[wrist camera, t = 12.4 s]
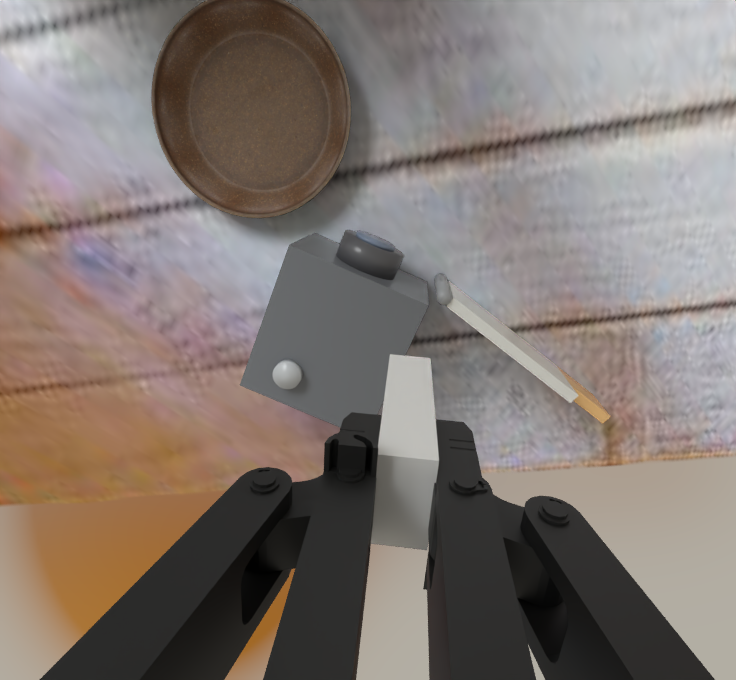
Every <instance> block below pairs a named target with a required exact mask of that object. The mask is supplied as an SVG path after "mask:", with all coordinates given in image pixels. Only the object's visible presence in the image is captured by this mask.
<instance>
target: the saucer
mask: <svg viewBox="0 0 736 680" xmlns="http://www.w3.org/2000/svg"><path fill="white" fill-rule="evenodd" d="M151 101H152V113H153V119H154V124H155V129H156V133H157V136H158V139H159V142H160V145H161V147H162V150H163V152H164V154H165V156H166V158H167V160H168V162H169V163H170V165H171V167H172V168H173V170H174V171H175V173H176V174H177V175H178V177H179V178H180V179H181V180H182V182H183V183H184V184H185V185H186V186H187V187H188V188H189V189H190V190H191V191H192V192H193V193H194V194H196V195H197V196H198V197H199V198H201V199H202V200H203V201H205V202H207V203H208V204H210V205H211V206H213V207H215V208H217V209H219V210H221V211H224V212H227V213H229V214H233V215H236V216H241V217H247V218H266V217H267V218H268V217H275V216H278V215H283V214H286V213H288V212H291V211H293V210H295V209H297V208H299V207H301V206H302V205H304V204H305V203H307V202H308V201H310V200H311V199H312V198H314V197H315V196H316V195H317V194H318V193H319V192H320V191H321V190H322V189H323V188H324V187H325V186H326V185H327V183H328V182H329V180H330V179H331V178H332V176H333V175H334V173H335V172H336V170H337V168H338V166H339V164H340V162H341V160H342V158H343V155H344V152H345V149H346V146H347V142H348V137H349V131H350V122H351V101H350V93H349V87H348V82H347V78H346V74H345V71H344V68H343V65H342V63H341V61H340V58H339V56H338V54H337V52H336V50H335V48H334V46H333V45H332V43H331V42H330V40H329V39H328V37H327V36H326V35H325V33H324V32H323V31H322V30H321V28H320V27H319V26H318V25H317V24H316V23H315V22H314V21H313V20H312V19H311V18H310V17H309V16H308V15H307V14H305V13H304V12H303V11H302V10H300V9H299V8H297V7H295V6H294V5H292V4H290V3H288V2H287V1H285V0H207V1H205V2H203V3H201V4H199V5H198V6H196V7H195V8H193V9H192V10H191V11H189V12H188V13H187V14H186V15H185V16H184V17H183V18H182V19H180V20H179V22H178V23H177V24H176V25H175V26H174V28H173V29H172V30H171V32H170V33H169V35H168V37H167V38H166V40H165V42H164V44H163V46H162V48H161V51H160V53H159V56H158V59H157V62H156V66H155V70H154V75H153V81H152V95H151Z"/></svg>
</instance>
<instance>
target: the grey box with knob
mask: <svg viewBox="0 0 736 680" xmlns="http://www.w3.org/2000/svg"><path fill="white" fill-rule="evenodd" d="M403 258H404V254H403V253H402V252H400V251H399V250H397V249H396V247H395V246H394V245H393V244H391V243H389V242H388V241H386V240H384V239H382V238H379V237H377V236H375V235H372V234H369V233H367V232H363V231H357V232H355V231H351V230H345V232H344V235H343V237H342V240H341V243H340V244H339V243H337V242H334V241H332V240H330V239H328V238H325V237H323V236H321V235H318V234H316V233H313V234H311V235H309V236H307V237H305V238H303V239H301V240H299V241H297V242H294V243H292V244H290V245H289V247H288V250H287V253H286V256H285V258H284V261H283V264H282V267H281V270H280V273H279V275H278V278H277V281H276V284H275V287H274V290H273V292H272V295H271V298H270V301H269V304H268V307H267V309H266V312H265V315H264V318H263V321H262V324H261V327H260V329H259V332H258V335H257V338H256V341H255V344H254V346H253V349H252V352H251V355H250V358H249V361H248V363H247V366H246V369H245V372H244V375H243V378H242V380H241V383H240V386H243V387H245V388H247V389H250V390H252V391H255V392H257V393H259V394H262V395H264V396H266V397H269V398H271V399H274V400H276V401H278V402H281V403H283V404H285V405H288V406H290V407H293V408H295V409H297V410H300V411H302V412H305V413H307V414H309V415H312V416H314V417H316V418H319V419H321V420H324V421H326V422H328V423H331V424H333V425H335V426H338V427H340V428H341V425H342V421H343V419H344V418H345V417H347V416H348V415H349V414H350V413H351V412H355V413H365V414H375V415H377V414H378V412H379V409H380V407H381V405H382V403H383V401H384V396H385V388H386V380H387V373H388V365H389V357H390V354H393V355H403V356H405V355H406V353H407V350H408V348H409V346H410V344H411V342H412V340H413V338H414V336H415V334H416V332H417V329H418V327H419V325H420V323H421V321H422V319H423V317H424V315H425V313H426V310H427V308H428V306H429V300H428V286H427V281H424V280H422V279H420V278H418V277H415V276H413V275H411V274H408V273H406V272H404V271H401V270H399V267H400V264H401V262H402V260H403Z"/></svg>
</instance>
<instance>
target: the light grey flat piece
mask: <svg viewBox="0 0 736 680" xmlns="http://www.w3.org/2000/svg"><path fill="white" fill-rule="evenodd" d="M434 282H435V289H436V296H437V301H438V303H439V304H441V305H446V307H448V308H449V309H450V310H451V311H453V312H454V313H455V314H457V315H458V316H459V317H460V318H462V319H463V320H464V321H466V322H467V323H468V324H469V325H471V326H472V327H473V328H474V329H476V330H477V331H478V332H480V333H481V334H482V335H483V336H485V337H486V338H487V339H489V340H490V341H491V342H492V343H494V344H495V345H496V346H498V347H499V348H500V349H501V350H503V351H504V352H505V353H507V354H508V355H509V356H510V357H512V358H513V359H514V360H516V361H517V362H518V363H519V364H521V365H522V366H523V367H524V368H526V369H527V370H528V371H530V372H531V373H532V374H533V375H535V376H536V377H537V378H539V379H540V380H541V381H542V382H544V383H545V384H546V385H548V386H549V387H550V388H551V389H553V390H554V391H555V392H557V393H558V394H559V395H560V396H562V397H563V398H564V399H566V400H567V401H568V402H569V403H571V402H572V401H574V402H576V403H577V404H578V405H579V406H581V407H582V408H583V409H585V410H586V411H587V412H588V413H590V414H591V415H592V416H594V417H595V418H596V419H597V420H599V421H600V422H601V423H602V424H603V423H604V422H605V421H606V420H607V419H608V418H610V417H611V416H610V415H609V414H608V413H607V411H606V410H605V409H604V408H603V406H602V405H601V404H600V403H599V402H598V400H597V399H596V398H595V397H594V395H593V394H592V393H590V392H589V391H588V390H587V389H585V388H584V387H583V386H581V385H580V384H579V383H578V382H576V381H575V380H574V379H573V378H571V377H570V376H569V375H567V374H566V373H565V372H564V371H562V370H561V369H560V368H559V367H557V366H556V365H555V364H554V363H553V362H551V361H550V360H549V359H548V358H546V357H545V356H544V355H543V354H541V353H540V352H539V351H537V350H536V349H535V348H534V347H532V346H531V345H530V344H529V343H527V342H526V341H525V340H524V339H522V338H521V337H520V336H518V335H517V334H516V333H515V332H513V331H512V330H511V329H510V328H508V327H507V326H506V325H504V324H503V323H502V322H501V321H499V320H498V319H497V318H496V317H494V316H493V315H492V314H491V313H489V312H488V311H487V310H485V309H484V308H483V307H482V306H480V305H479V304H478V303H477V302H475V301H474V300H473V299H471V298H470V297H469V296H468V295H466V294H465V293H464V292H463V291H461V290H460V289H459V288H458V287H456V286H455V285H454V284H452V283H451V282H450V281H448V282H447V278H446V276H445V275H444V274H437V275H436V276H435V278H434Z"/></svg>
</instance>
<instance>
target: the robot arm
mask: <svg viewBox="0 0 736 680" xmlns="http://www.w3.org/2000/svg"><path fill="white" fill-rule="evenodd" d="M428 539H429V552H428V559H427V567H426V574H425V582H424V588H423V589H426V590H427V598H428V599H427V600H428V636H429V676H430V680H536V677H535V673H534V669H533V665H532V660H531V656H530V651H529V647H530V649H531V651H532V653H533V655H534V657H535V659H536V661H537V663H538V665H539V667H540V669H541V671H542V673H543V675H544V678H545V680H714V678H713V677H712V676H711V674H710V673H709V672H708V671H707V669H706V668H705V667H704V666H703V664H702V663H701V662H700V661H699V660H698V658H697V657H696V656H695V655H694V653H693V652H692V651H691V650H690V648H689V647H688V646H687V645H686V643H685V642H684V641H683V640H682V638H681V637H680V636H679V635H678V633H677V632H676V631H675V630H674V629H673V627H672V626H671V625H670V624H669V622H668V621H667V620H666V619H665V617H664V616H663V615H662V614H661V612H660V611H659V610H658V609H657V607H656V606H655V605H654V604H653V603H652V601H651V600H650V599H649V598H648V596H647V595H646V594H645V593H644V592H643V590H642V589H641V588H640V586H639V585H638V584H637V583H636V582H635V580H634V579H633V578H632V577H631V575H630V574H629V573H628V572H627V571H626V570H625V568H624V567H623V565H622V564H621V563H620V562H619V560H618V559H617V558H616V557H615V556H614V554H613V553H612V552H611V551H610V549H609V548H608V547H607V546H606V544H605V543H604V542H603V541H602V540H601V538H600V537H599V536H598V535H597V533H596V532H595V531H594V530H593V528H592V527H591V526H590V525H589V523H588V522H587V521H586V520H585V518H584V517H583V516H582V515H581V514H580V512H578V511H577V510H576V509H575V508H574V507H573V506H571V505H570V504H568V503H566V502H564V501H563V500H560V499H557V498H553V497H549V496H537V497H532V498H530V499H529V500H528V501H526V503H525V507H521V506H518V505H515V504H512V503H509V502H507V501H504V500H502V499H500V498H498V497H497V496H495V495H493V493H492V489H491V487H490V485H489V483H488V482H487V481H485V480H484V479H483V478H482V475H481V470H480V466H479V461H478V456H477V452H476V447H475V443H474V438H473V433H472V431H471V430H470V429H469V428H468V427H467V425H466V424H465V423H464V422H456V421H446V420H436V418H435V406H434V394H433V382H432V370H431V358H425V357H414V356H403V355H393V354H390V357H389V365H388V373H387V380H386V388H385V396H384V403H383V411H382V415H375V414H365V413H355V412H351V413H350V414H349V415H348V416H347V417H345V418H344V419H343V421H342V425H341V428H340V432H339V433H337V434H334V435H333V436H331V437H329V438H328V439H327V441H326V442H325V454H324V472H323V475H321V476H319V477H318V478H315V479H312V480H308V481H302V482H293V483H292V480H291V477H290V476H289V475H288V474H287V473H286V472H284V471H282V470H280V469H277V468H269V467H266V468H257V469H254V470H251V471H249V472H247V473H245V474H244V475H243V476H241V477H240V478H239V479H238V480H237V481H236V482H235V483H234V484H233V485H232V486H231V487H230V488H229V489H228V490H227V491H226V492H225V493H224V494H223V495H222V496H221V497H220V498H219V499H218V500H217V501H216V502H215V503H214V504H213V505H212V506H211V507H210V509H208V510H207V511H206V512H205V513H204V514H203V515H202V516H201V517H200V518H199V519H198V521H196V523H194V525H192V527H190V528H189V530H188V531H187V532H186V533H185V534H184V535H183V536H182V537H181V538H180V539H179V540H178V541H177V542H176V543H175V544H174V545H173V546H172V547H171V548H170V549H169V550H168V551H167V552H166V553H165V554H164V555H163V556H162V557H161V558H160V559H159V560H158V561H157V562H156V563H155V564H154V565H153V566H152V567H151V568H150V569H149V570H148V571H147V572H146V573H145V574H144V575H143V576H142V577H141V578H140V579H139V580H138V581H137V582H136V583H135V584H134V585H133V586H132V587H131V588H130V589H129V590H128V591H127V592H126V593H125V594H124V595H123V596H122V597H121V598H120V599H119V600H118V601H117V602H116V603H115V604H114V605H113V606H112V607H111V608H110V609H109V611H107V612H106V613H105V614H104V615H103V616H102V617H101V618H100V620H98V621H97V622H96V623H95V624H94V626H92V628H91V629H89V630H88V632H87V633H86V634H85V635H84V636H83V637H82V638H81V639H80V640H79V641H78V642H77V643H76V644H75V645H74V646H73V647H72V648H71V649H70V650H69V651H68V652H67V653H66V654H65V655H64V656H63V657H62V658H61V659H60V660H59V661H58V662H57V663H56V664H55V665H54V666H53V667H52V668H51V669H50V670H49V671H48V672H47V673H46V674H45V675H44V676H43V677H42V678H41V679H40V680H224V679H225V677H226V676H227V674H228V673H229V671H230V669H231V668H232V666H233V665H234V663H235V662H236V660H237V658H238V657H239V655H240V653H241V652H242V650H243V649H244V647H245V646H246V644H247V642H248V641H249V639H250V637H251V636H252V634H253V633H254V631H255V630H256V628H257V626H258V625H259V623H260V622H261V620H262V618H263V617H264V615H265V614H266V612H267V610H268V609H269V607H270V606H271V604H272V602H273V601H274V599H275V597H276V596H277V594H278V593H279V591H280V590H281V588H282V586H283V585H284V583H285V582H286V580H287V578H288V577H289V574H290V571H291V569H293V568H296V569H295V572H294V575H293V579H292V582H291V586H290V589H289V593H288V596H287V599H286V603H285V607H284V610H283V613H282V617H281V620H280V623H279V627H278V630H277V634H276V637H275V641H274V645H273V647H272V651H271V655H270V658H269V661H268V665H267V668H266V672H265V675H264V678H263V680H356V674H357V665H358V656H359V647H360V637H361V628H362V620H363V611H364V602H365V592H366V584H367V575H368V566H369V556H370V544H379V545H388V546H396V547H404V548H413V549H422V550H427V547H428ZM528 645H529V647H528Z"/></svg>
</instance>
